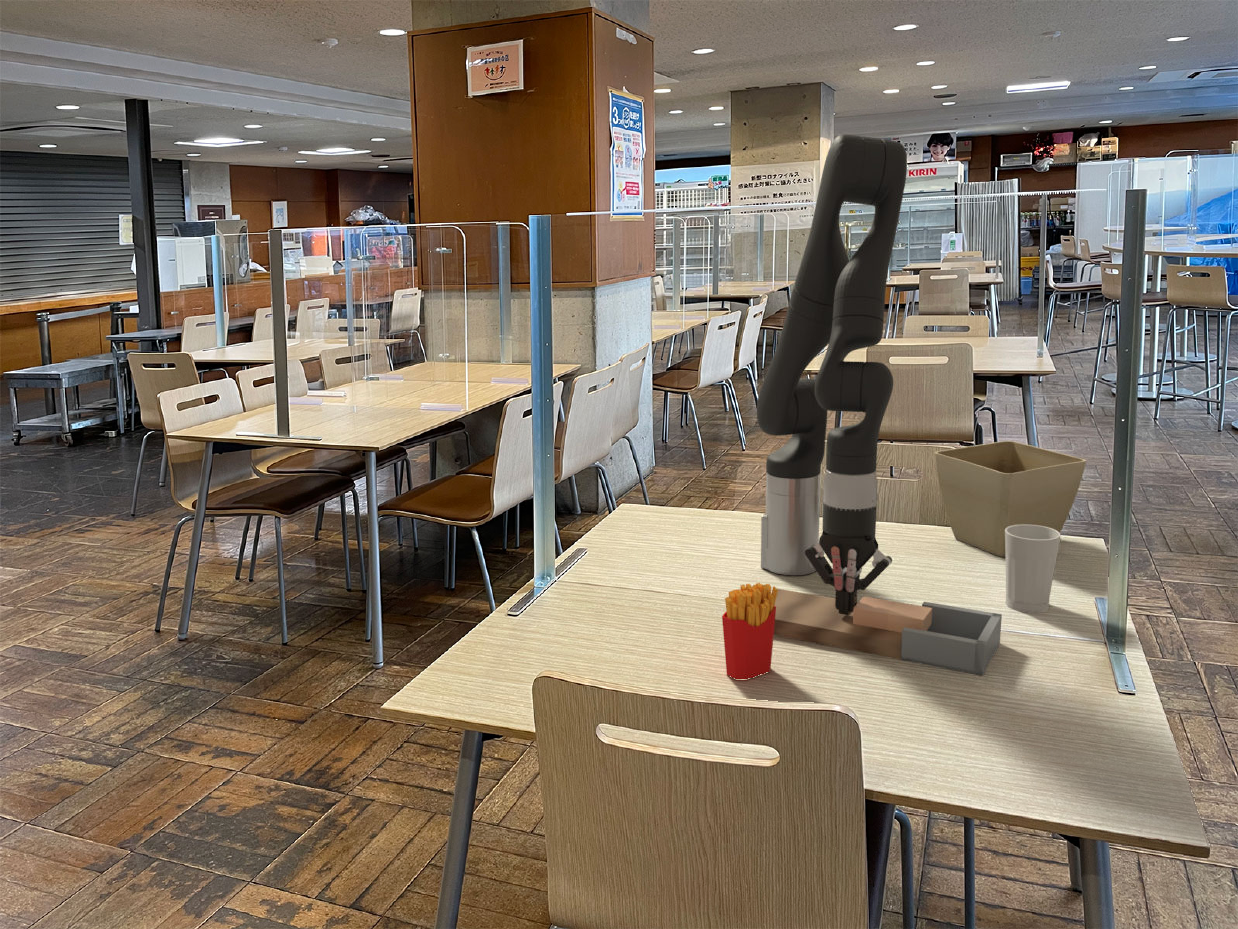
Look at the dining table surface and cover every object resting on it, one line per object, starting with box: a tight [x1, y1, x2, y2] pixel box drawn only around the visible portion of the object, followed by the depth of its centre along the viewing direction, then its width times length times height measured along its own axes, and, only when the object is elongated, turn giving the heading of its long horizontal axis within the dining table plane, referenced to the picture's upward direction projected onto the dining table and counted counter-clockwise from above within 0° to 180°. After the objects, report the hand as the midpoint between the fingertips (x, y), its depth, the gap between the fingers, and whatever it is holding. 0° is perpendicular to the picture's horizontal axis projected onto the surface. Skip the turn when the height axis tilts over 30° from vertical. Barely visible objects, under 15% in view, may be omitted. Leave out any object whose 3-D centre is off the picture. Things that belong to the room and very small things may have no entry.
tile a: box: [853, 595, 898, 630], centre depth 148 cm, size 5×5×2 cm
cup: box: [1005, 525, 1061, 614], centre depth 158 cm, size 8×8×12 cm
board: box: [774, 588, 902, 661], centre depth 152 cm, size 23×12×2 cm, turn 60°
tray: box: [901, 601, 1003, 676], centre depth 143 cm, size 11×12×4 cm
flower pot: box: [934, 440, 1087, 557], centre depth 187 cm, size 19×19×17 cm
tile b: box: [887, 601, 932, 633], centre depth 145 cm, size 5×5×2 cm
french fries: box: [721, 582, 778, 679], centre depth 137 cm, size 8×4×12 cm, turn 124°
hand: (846, 612), depth 150 cm, fingers closed
